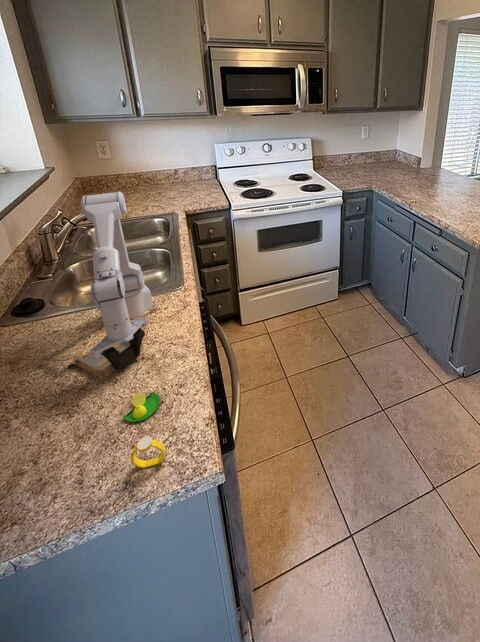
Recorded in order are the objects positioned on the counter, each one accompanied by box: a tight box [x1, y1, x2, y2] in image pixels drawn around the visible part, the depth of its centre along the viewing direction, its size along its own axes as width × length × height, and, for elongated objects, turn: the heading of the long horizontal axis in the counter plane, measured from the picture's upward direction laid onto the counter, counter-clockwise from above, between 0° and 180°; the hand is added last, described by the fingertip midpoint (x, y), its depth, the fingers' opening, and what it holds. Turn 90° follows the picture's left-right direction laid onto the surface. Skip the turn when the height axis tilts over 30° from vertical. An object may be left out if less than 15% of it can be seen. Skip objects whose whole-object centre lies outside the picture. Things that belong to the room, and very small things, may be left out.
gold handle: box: [67, 362, 76, 369], centre depth 101 cm, size 1×15×1 cm, turn 154°
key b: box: [97, 358, 109, 367], centre depth 97 cm, size 4×2×1 cm, turn 153°
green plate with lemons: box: [123, 392, 161, 422], centre depth 83 cm, size 8×8×3 cm
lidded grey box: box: [72, 342, 144, 380], centre depth 98 cm, size 14×12×5 cm
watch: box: [130, 435, 166, 469], centre depth 71 cm, size 6×3×6 cm, turn 103°
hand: (127, 361), depth 95 cm, fingers closed on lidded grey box, 5 cm apart
